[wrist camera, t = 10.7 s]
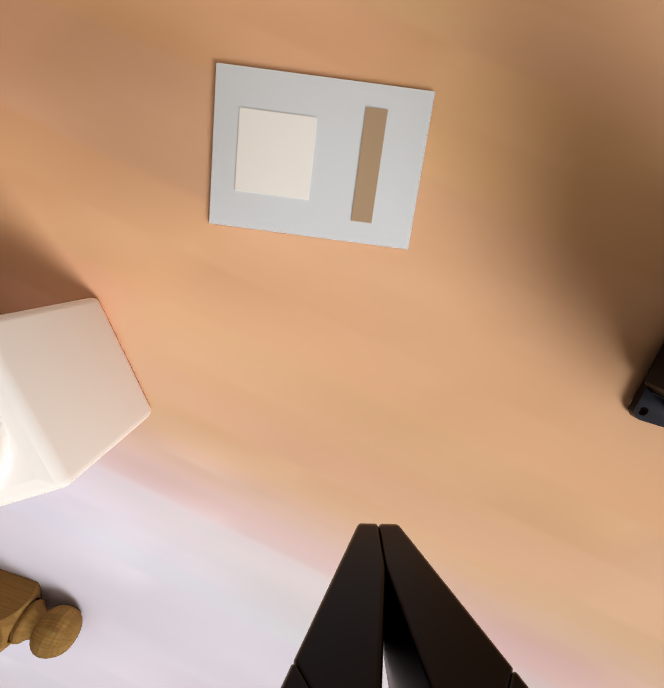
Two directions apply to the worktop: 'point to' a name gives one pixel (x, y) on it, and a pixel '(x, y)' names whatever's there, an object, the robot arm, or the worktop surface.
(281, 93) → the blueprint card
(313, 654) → the robot arm
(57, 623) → the tap handle
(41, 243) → the worktop surface
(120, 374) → the medicine bottle
